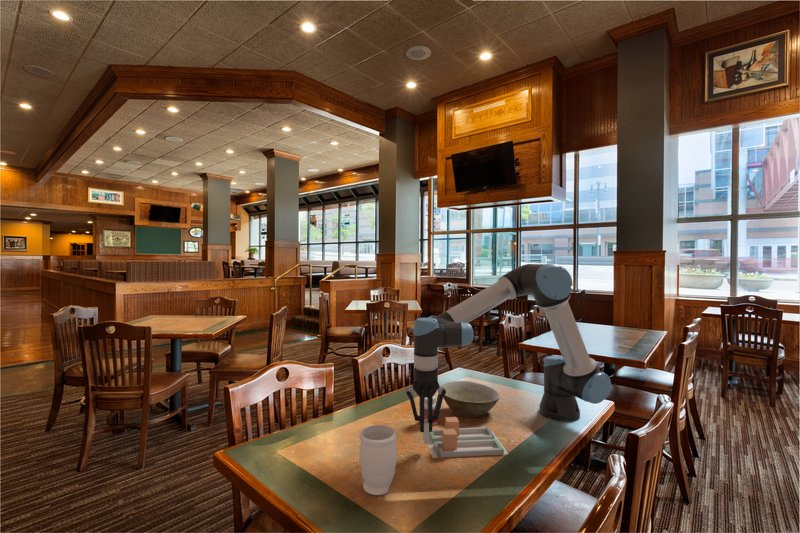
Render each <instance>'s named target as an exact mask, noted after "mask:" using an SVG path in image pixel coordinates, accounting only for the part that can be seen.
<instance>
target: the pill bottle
mask: <svg viewBox="0 0 800 533" xmlns="http://www.w3.org/2000/svg"><path fill="white" fill-rule="evenodd" d="M436 401H437V397H436V396H435V395H434V396H433V401H432V415H433V413H434V409H435V405H436ZM424 420H428V410H427V397H426V398H425V401H424ZM438 422H439V419H438V420H434V421H433V423H432V427H434V426H437V425H438Z"/></svg>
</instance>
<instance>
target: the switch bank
mask: <svg viewBox="0 0 800 533" xmlns="http://www.w3.org/2000/svg"><path fill="white" fill-rule="evenodd" d="M442 429H443V428H436V429H435V428H434V429H433V428H432V432H429V444H427V445H428V447H429V449H430V450H429V451H430V454H431V457H432V459H435V458H458V457H478V456H479V457H481V456H499V455H500V456H501V455H509V453H508V451H507V450H506V449H505V447H504V446H503V444H502V443H501V441H500V440H499V439H498V437H497V436H496V434H495V433H494V431H493V430H491V429H490V428H489V426H485V427H483V426H482V427H481V426H480V427H461V428H460V427H459V436H457V450H447V451H443V449H442Z"/></svg>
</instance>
